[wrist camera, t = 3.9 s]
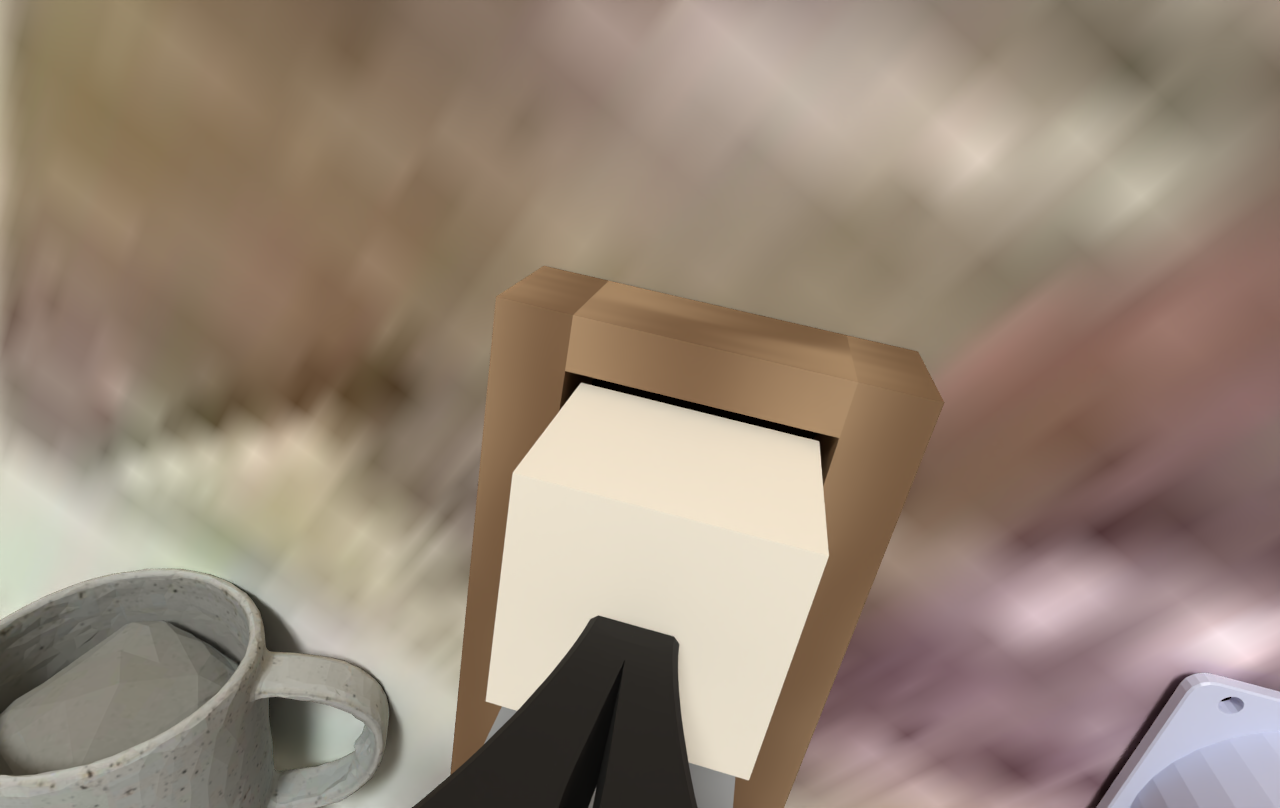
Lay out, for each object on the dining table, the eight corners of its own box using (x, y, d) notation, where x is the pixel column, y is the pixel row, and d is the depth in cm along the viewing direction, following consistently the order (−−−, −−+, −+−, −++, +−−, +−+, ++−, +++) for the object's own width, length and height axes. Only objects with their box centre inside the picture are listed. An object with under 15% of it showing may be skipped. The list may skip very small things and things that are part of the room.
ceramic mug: (143, 722, 27) (-80, 939, 20) (102, 544, 23) (-182, 730, 16) (405, 790, 26) (267, 1046, 19) (402, 613, 22) (232, 845, 15)
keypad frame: (918, 351, 16) (944, 402, 13) (677, 1007, 27) (665, 1107, 24) (543, 265, 17) (496, 296, 14) (462, 934, 28) (426, 1023, 25)
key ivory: (818, 441, 14) (829, 555, 11) (758, 630, 16) (749, 780, 13) (581, 382, 15) (512, 472, 11) (551, 573, 17) (485, 701, 13)
